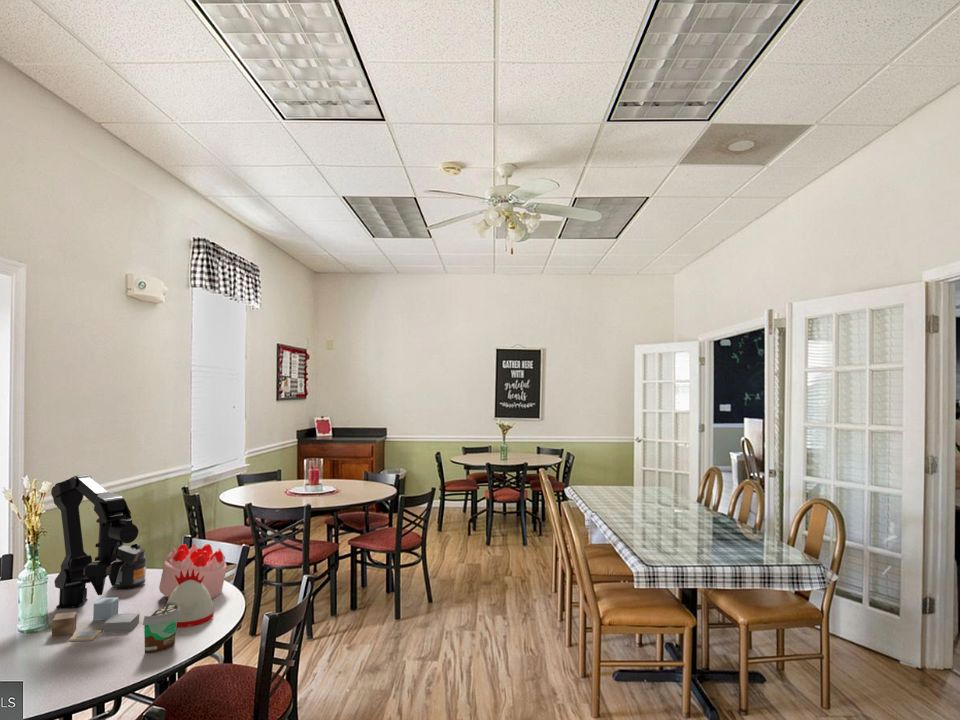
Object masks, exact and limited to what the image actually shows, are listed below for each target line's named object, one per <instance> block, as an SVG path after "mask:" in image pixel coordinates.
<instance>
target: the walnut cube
mask: <svg viewBox="0 0 960 720" xmlns="http://www.w3.org/2000/svg"><path fill="white" fill-rule="evenodd" d="M51 621H52V623H51V639H56V638H61V637H63V638H64V637H70V636H71V637H73V636H74V635H75V632H76V630H77V623H78V622H77V621H78V611H71V612H62V613H61V612H60V613H56V614H55V615H54V617H53V619H52V620H51ZM55 637H56V638H55Z"/></svg>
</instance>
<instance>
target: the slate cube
mask: <svg viewBox="0 0 960 720" xmlns="http://www.w3.org/2000/svg"><path fill="white" fill-rule="evenodd" d="M119 600H120V598H119V597H100V599H98V600H97V601H95V602H94V603H93V611H92V612H93V614H92V616H93V618H92V621H107V620H108V619H109V618H110V617H111V616H113V615H114V614H119V605H120V603H119V602H120V601H119Z"/></svg>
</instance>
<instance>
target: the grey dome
mask: <svg viewBox="0 0 960 720" xmlns="http://www.w3.org/2000/svg"><path fill="white" fill-rule="evenodd" d="M198 576H199V572H198V574H197V575H196V576H195V574H194V569H193V570H192V574H191V576H189V570H187V573H186V576H185V577H184V576H183V573H182V570H181V572H180V577H177V575H175V578H176V580H177V582H178V584H179V585H178V586H177V587H176V588H175V589H174V591H173V592H172V593H171V594H170V595H169V596H167V599H168V600H167V602H175V603H177V604H178V605H179V607H180V612H181V614H180V615H179V616H178V618H177V627H176V629H177V628H191V627H195V626H199V625H202V624H205V623H208V622H209V621H211V620H212V617H213V618H214V604H213V599H212V598H211V597H210V594H209V592H208V590H207V589H206V587H205V586H204V585H203V584H202V583H201V582H202V580H203V578H204V576H203V577H202V578H201V579H200V580H199V579H198Z"/></svg>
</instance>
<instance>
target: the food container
mask: <svg viewBox="0 0 960 720" xmlns="http://www.w3.org/2000/svg"><path fill="white" fill-rule="evenodd" d="M180 614H181V612H180V607H179V605H178V604H177V603H175V602H168V601H166V605H164V606H163V607H161V608H159V609H157V610H155V611H154V612H153V613H152V614H151V615H149V616H148V615H144V618H143V622H142V625H143V628H144V654H155V653H160V652H163V651H166V650H169V649H171V648H172V647H174V645H175V642H176V631H177V628H176V627H177V618H178V616H179V615H180Z"/></svg>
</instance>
